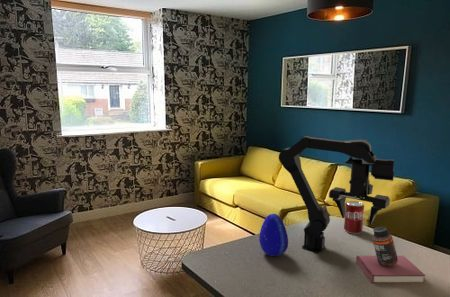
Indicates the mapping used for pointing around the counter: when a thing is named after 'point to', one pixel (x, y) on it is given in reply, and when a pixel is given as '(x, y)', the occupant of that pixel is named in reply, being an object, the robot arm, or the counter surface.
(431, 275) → the counter surface
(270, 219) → the ornament
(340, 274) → the counter surface
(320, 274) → the counter surface
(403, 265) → the hardcover book
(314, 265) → the counter surface
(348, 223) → the soda can
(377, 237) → the supplement bottle
